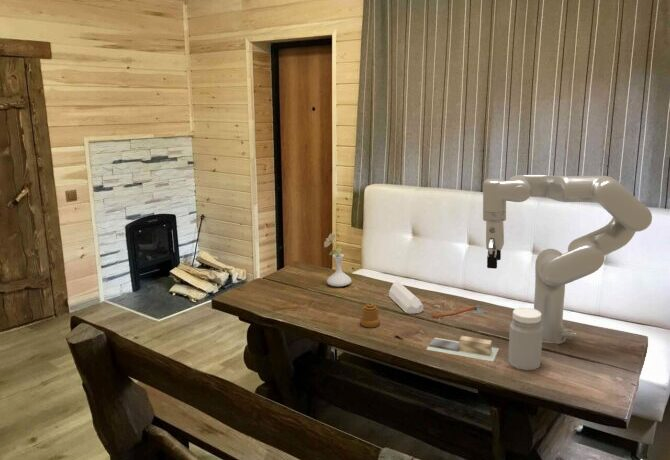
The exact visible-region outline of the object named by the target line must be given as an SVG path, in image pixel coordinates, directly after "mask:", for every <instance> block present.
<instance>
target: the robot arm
mask: <svg viewBox="0 0 670 460" xmlns="http://www.w3.org/2000/svg"><path fill="white" fill-rule="evenodd" d="M530 197H541V198H547V199H550V200H554V201H557V202H562V203H598V204H599V206H601V207H602V208H603V209H604V210H605V211H606V212H607V213H608V214H610V215H611V216H612V218H611V220H610V221H609V222H608V223H607V224H606V225H604V226H603V227H600V228H598V229H596V230H594V231H592V232H589V233H587V234H585V235H582V236H579V237H578V238H574V239H573V240H572V241H571V242H570V243H569V245H568V247H567V252H565V253H562V252H561V251H560V250H558V249H555V248H546V249H543V250H542V251H540V253H539V254H538V255H537V257H536V259H535V267H534V268H535V272H534V274H535V275H534V276H535V279H534V281H535V283H534V300H533V309H535V310H538V311H539V312H540V313H542V314H541V320H540V321H541V326H542V327H543V335H542V343H546V344H547V343H548V344H556V345H562V344H563V343H565V342H566V340H567V338H571V339H576V336H577V333H576V332H573V329H566V328H564V326H565V325H564V324H563V320H564V304H565V294H566V285H567V284H569V283H570V284H571V283H573V282H575V281H577V280H580V279H582V278H585V277H587V276H589V275H592V274H594V273H596V272H597V271H599V269H600V268H602V266H603V265H604V263H605V262H604V261H605V256H607V255H609V254H611V253H613V252H615V251H617V250H620V249H621V248H623V247H625V246H626V245H628V243H629V242H630V241H632V239H633V237H634V235H635V234H636V233H637V232H642V231H645V230H646V229H648V228H649V226H650V225H651V224H652V221H653V216H652V212H651V210H650V209H649V208H648V207H647V206H646V205H644V203H643V202H641V201H640V200H639V199H638V198H637V197H635V196H634V195H633V194H632V193H631V192H630V191H629V190H628V189H627V188H626V187H624V185H622V184H621V183H620V182H619V181H618V180H616V179H614V178H613V177H611V176H608V175H547V174H546V175H544V174H519V175H518V174H517V175H516V174H515V175H513V176H512V177H510V178H508V180H505V179H503V178H488V179H485V180H484V181H483V183H482V220H483V222H485V225H486V226H485V248H486V250H487V257H486V265H487V266H486V267H487V269H497V268H498V261H501V257H502V250H503V247H504V244H505V239H504V238H505V236H504V235H505V233H504V231H505V230H504V229H505V227H504V221H506V220H507V202H512V203H523V202H525V201H527V200H528V199H529V198H530Z"/></svg>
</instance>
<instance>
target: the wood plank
mask: <svg viewBox="0 0 670 460" xmlns="http://www.w3.org/2000/svg"><path fill="white" fill-rule="evenodd" d="M421 330H422V328H421V327H414V326H412V325H411V326H407V327H405V328H403V329H401V330H400V331H399V332H397V333H395V334H394V336H397V337H399V338H400V339H402V340H405V339H407V338H408V339H409V338H411V337H413V336H415V335H416V334H418V333H419V332H421Z"/></svg>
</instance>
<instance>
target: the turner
mask: <svg viewBox="0 0 670 460" xmlns="http://www.w3.org/2000/svg"><path fill="white" fill-rule="evenodd" d="M434 338H435V337H434ZM434 338H432V340H431V341H430V342H429V343H428V346H429V347H435V348H441V349H446V350H452V351H457V352H458V351H459V350H460V351H465V352H471V353H477V354H482V355H488V356H490V354H491V352H492V347H493V340H491V339H484V338H480V337H479V338H478V337H471V336H465V335H461V336H460V338H459V341H458V342H459V343H458V342H452V341H453V340H452V341H446V340H447V339H446V340H440V339H434Z"/></svg>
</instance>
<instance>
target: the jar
mask: <svg viewBox="0 0 670 460" xmlns="http://www.w3.org/2000/svg"><path fill="white" fill-rule="evenodd" d="M541 314H542V313H540V312H539V311H538V310H535V309H534V307H533V308H531V307H525V306H524V307H518V308H515V309H513V311H512V319H511V320H512V321H511V323H510V325H509V332H508V333H509V336H508V337H509V338H508V353H507V354H508V355H507V356H508V357H507V363H509V364H510V366H511V367H513V368H515V369H517V370H524V371H533V370H534V371H535V370H537V369H538V368H540V366H541V364H542V363H541V362H542V351H543V350H542V346H543V342H542V335H543V327H542V326H541V321H540V320H541Z"/></svg>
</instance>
